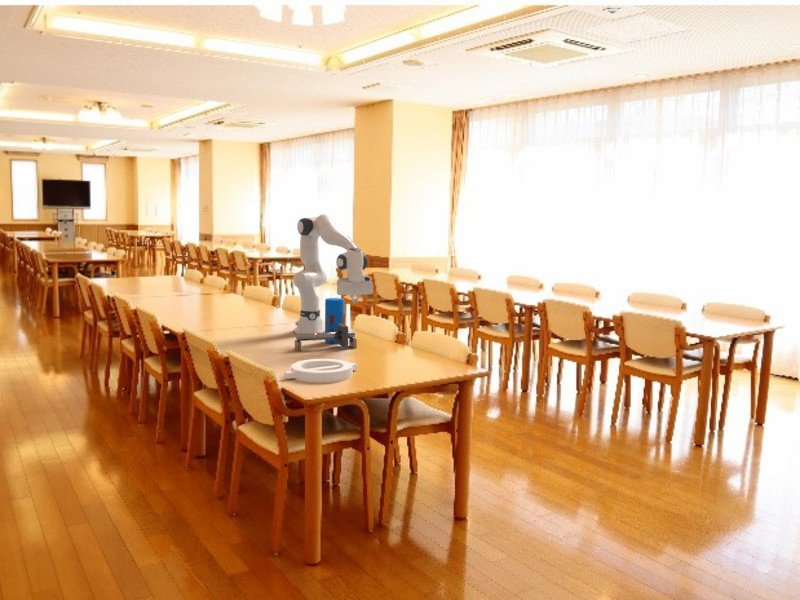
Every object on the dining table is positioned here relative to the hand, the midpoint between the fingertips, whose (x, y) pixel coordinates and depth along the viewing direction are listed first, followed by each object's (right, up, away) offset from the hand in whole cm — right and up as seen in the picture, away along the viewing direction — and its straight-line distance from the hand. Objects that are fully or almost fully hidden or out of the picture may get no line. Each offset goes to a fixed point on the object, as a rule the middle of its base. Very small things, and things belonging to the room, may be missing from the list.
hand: (355, 302), depth 368 cm
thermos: (-13, -23, +15) cm, 31 cm away
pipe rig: (-16, -25, -3) cm, 30 cm away
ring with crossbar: (-11, -33, -62) cm, 71 cm away
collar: (-7, -23, 0) cm, 24 cm away
